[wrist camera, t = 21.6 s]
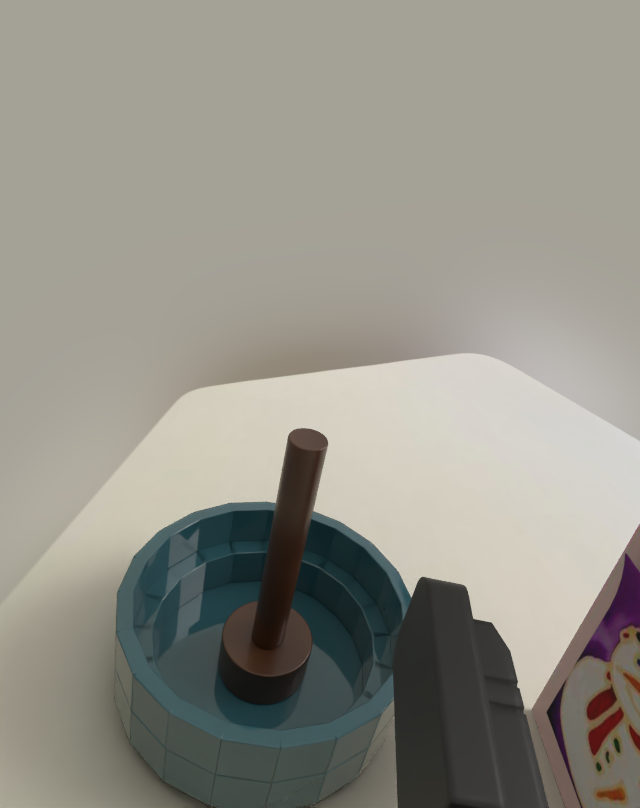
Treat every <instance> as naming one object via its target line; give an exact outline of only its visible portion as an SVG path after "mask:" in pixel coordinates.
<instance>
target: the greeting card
mask: <svg viewBox="0 0 640 808" xmlns="http://www.w3.org/2000/svg"><path fill="white" fill-rule="evenodd" d="M532 711H533V714H534V717H535V720H536V723H537V726H538V729H539V732H540V735H541V738H542V741H543V744H544V747H545V750H546V752H547V755H548V758H549V761H550V764H551V767H552V770H553V773H554V776H555V779H556V782H557V785H558V788H559V791H560V794H561V797H562V799H563V802H564V805H565V808H640V524H639V526H638V528H637V530H636V531H635V533H634V535H633V536H632V538H631V540H630V542H629V543H628V545H627V547H626V548H625V550H624V552H623V554H622V555H621V557H620V559H619V560H618V562H617V564H616V566H615V567H614V569H613V571H612V572H611V574H610V576H609V578H608V579H607V581H606V583H605V584H604V586H603V588H602V590H601V591H600V593H599V595H598V597H597V598H596V600H595V602H594V603H593V605H592V607H591V609H590V610H589V612H588V614H587V615H586V617H585V619H584V621H583V622H582V624H581V626H580V627H579V629H578V631H577V633H576V634H575V636H574V638H573V639H572V641H571V643H570V645H569V646H568V648H567V650H566V651H565V653H564V655H563V657H562V658H561V660H560V662H559V663H558V665H557V667H556V669H555V670H554V672H553V674H552V675H551V677H550V679H549V681H548V682H547V684H546V686H545V687H544V689H543V691H542V693H541V694H540V696H539V698H538V699H537V701H536V703H535V705H534V706H533V708H532Z"/></svg>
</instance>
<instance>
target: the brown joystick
mask: <svg viewBox="0 0 640 808" xmlns="http://www.w3.org/2000/svg"><path fill="white" fill-rule="evenodd" d="M327 447H328V440H327V438H326V437H325V436H324V435H323V434H321V433H320V432H318V431H315V430H312V429H306V428H301V429H296V430H293V431H292V432H291V433H290V434H289V436H288V440H287V446H286V451H285V456H284V462H283V467H282V473H281V478H280V484H279V489H278V494H277V500H276V505H275V511H274V516H273V521H272V527H271V532H270V538H269V543H268V548H267V554H266V559H265V565H264V570H263V575H262V581H261V586H260V592H259V597H258V601H254V602H250V603H247V604H244V605H242V606H241V607H239V608H237V609H236V610H235V611H234V612H233V613H232V614H231V615H230V616H229V617H228V619H227V620H226V622H225V624H224V627H223V631H222V637H221V644H220V651H219V657H218V669H219V674H220V676H221V679H222V681H223V682H224V684H225V685H226V687H227V688H228V689H229V690H230V691H231V692H232V693H233V694H234V695H236V696H237V697H239V698H240V699H242V700H245V701H247V702H250V703H254V704H273V703H277V702H280V701H283V700H285V699H287V698H288V697H290V696H291V695H292V694H294V693H295V692H296V691H297V689H298V688H299V687H300V685H301V684H302V682H303V679H304V677H305V673H306V669H307V665H308V661H309V658H310V654H311V650H312V643H313V641H312V634H311V630H310V628H309V626H308V624H307V622H306V621H305V619H304V618H303V617H302V616H301V615H300V614H299V613H298V612H297V611H296V610H294V609H293V608H291V606H292V602H293V597H294V593H295V588H296V584H297V580H298V575H299V571H300V566H301V562H302V557H303V553H304V549H305V544H306V540H307V535H308V531H309V527H310V522H311V518H312V513H313V509H314V504H315V500H316V496H317V491H318V487H319V482H320V478H321V473H322V469H323V465H324V460H325V456H326V451H327Z"/></svg>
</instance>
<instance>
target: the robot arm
mask: <svg viewBox="0 0 640 808" xmlns="http://www.w3.org/2000/svg"><path fill="white" fill-rule="evenodd" d="M517 683H518V681H517V677H516V673H515V669H514V665H513V661H512V657H511V653H510V650H509V649H508V647H507V646H506V644H505V642H504V641H503V639H502V638H501V636H500V635H499V633H498V632H497V630H496V629H495V627H494V625H493V624H492V623H490V622H485V621H480V620H475V619H473V616H472V611H471V606H470V600H469V595H468V591H467V589H466V587H465V586H464V585H461V584H456V583H451V582H446V581H441V580H436V579H431V578H426V577H421V578H420V579H419V581H418V583H417V585H416V588H415V591H414V593H413V596H412V599H411V601H410V604H409V607H408V609H407V612H406V615H405V617H404V620H403V623H402V625H401V628H400V631H399V633H398V637H397V640H396V645H395V651H394V659H393V686H394V713H395V740H396V767H397V794H398V808H549V807H548V803H547V799H546V795H545V791H544V786H543V782H542V778H541V774H540V770H539V766H538V762H537V758H536V754H535V750H534V746H533V742H532V738H531V734H530V730H529V726H528V722H527V717H526V715H525V714H524V712H523V711H524V705H523V701H522V697H521V693H520V689H519V688H517Z"/></svg>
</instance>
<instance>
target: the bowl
mask: <svg viewBox="0 0 640 808" xmlns="http://www.w3.org/2000/svg"><path fill="white" fill-rule="evenodd" d="M275 505H276V503H271V502H269V503H268V502H244V503H228V504H224V505H220V506H216V507H212V508H208V509H204V510H200V511H196V512H194V513H191V514H189V515H187V516H186V517H184V518H182V519H180V520H178V521H176V522H175V523H173V524H171V525H169V526H167V527H165V528H163V529H162V530H161V531H159V532H158V533H157V534H156V535H155V536H154V537H153V538H152V539H151V540H150V541H149V542H148V543H147V544H146V545H145V546H144V547H143V548H142V549H141V550H140V551H139V552H138V553H137V554H136V555H135V556H134V558H133V559H132V561H131V563H130V566H129V568H128V570H127V572H126V574H125V576H124V579H123V581H122V583H121V585H120V587H119V589H118V593H117V610H116V647H115V702H116V705H117V708H118V711H119V714H120V716H121V719H122V722H123V725H124V728H125V731H126V733H127V736H128V739H129V742H130V743H131V745H132V746H133V747H134V748H135V749H136V751H137V752H138V753H139V754H140V755H141V756H142V758H143V759H144V760H145V761H146V762H147V763H148V764H149V766H150V767H151V768H152V769H153V770H154V771H155V773H156V774H157V775H158V776H159V777H160V778H161V779H162V780H164V782H166V783H168V784H170V785H172V786H173V787H175V788H177V789H179V790H181V791H183V792H185V793H186V794H188V795H190V796H192V797H194V798H196V799H197V800H199V801H201V802H203V803H205V804H207V805H209V806H212V807H218V808H297V807H302V806H307V805H312V804H315V803H317V802H319V801H321V800H322V799H324V798H325V797H327V796H329V795H330V794H332V793H333V792H335V791H337V790H338V789H340V788H341V787H343V786H345V785H346V784H348V783H349V782H351V781H353V780H354V779H356V778H357V777H358V776H359V775H360V773H361V772H362V771H363V769H364V768H365V767H366V765H367V764H368V763H369V761H370V760H371V759H372V757H373V756H374V755H375V753H376V752H377V751H378V749H379V748H380V747H381V745H382V744H383V743H384V741H385V738H386V736H387V733H388V731H389V728H390V726H391V723H392V721H393V718H394V716H395V713H394V686H393V659H394V651H395V645H396V640H397V637H398V633H399V631H400V628H401V625H402V623H403V620H404V617H405V615H406V612H407V609H408V607H409V604H410V601H411V599H412V598H411V596H410V594H409V592H408V590H407V588H406V586H405V584H404V582H403V580H402V578H401V576H400V574H399V572H398V571H397V569H396V568H395V567H394V566H393V565H392V564H391V563H390V562H389V561H388V560H387V559H386V557H385V556H384V555H383V554H382V553H381V552H380V551H379V550H378V549H377V548H376V547H375V545H374V544H372V543H371V542H370V541H368V540H367V539H365V538H364V537H362V536H361V535H359V534H358V533H356V532H355V531H353V530H352V529H350V528H349V527H347V526H346V525H344V524H343V523H341V522H339V521H337V520H334V519H332V518H329V517H327V516H324V515H322V514H319V513H316V512H314V511H313V513H312V518H311V522H310V527H309V531H308V535H307V540H306V544H305V549H304V553H303V557H302V562H301V566H300V571H299V575H298V580H297V584H296V588H295V593H294V597H293V602H292V606H291V608H293V609H294V610H296V611H297V612H298V613H299V614H300V615H301V616H302V617H303V618H304V619H305V621H306V622H307V624H308V626H309V628H310V630H311V634H312V641H313V643H312V650H311V654H310V658H309V661H308V665H307V669H306V673H305V677H304V679H303V682H302V684H301V685H300V687H299V688H298V689H297V691H296V692H295V693H294V694H292V695H291V696H290V697H288V698H287V699H285V700H283V701H280V702H277V703H273V704H254V703H250V702H247V701H245V700H242V699H240V698H239V697H237V696H236V695H234V694H233V693H232V692H231V691H230V690H229V689H228V688H227V687H226V685H225V684H224V682H223V681H222V679H221V676H220V674H219V669H218V657H219V651H220V644H221V637H222V631H223V627H224V624H225V622H226V620H227V619H228V617H229V616H230V615H231V614H232V613H233V612H234V611H235V610H236V609H237V608H239V607H241V606H242V605H244V604H247V603H250V602H254V601H258V597H259V592H260V586H261V581H262V575H263V570H264V565H265V559H266V554H267V548H268V543H269V538H270V532H271V527H272V521H273V516H274V511H275Z"/></svg>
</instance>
